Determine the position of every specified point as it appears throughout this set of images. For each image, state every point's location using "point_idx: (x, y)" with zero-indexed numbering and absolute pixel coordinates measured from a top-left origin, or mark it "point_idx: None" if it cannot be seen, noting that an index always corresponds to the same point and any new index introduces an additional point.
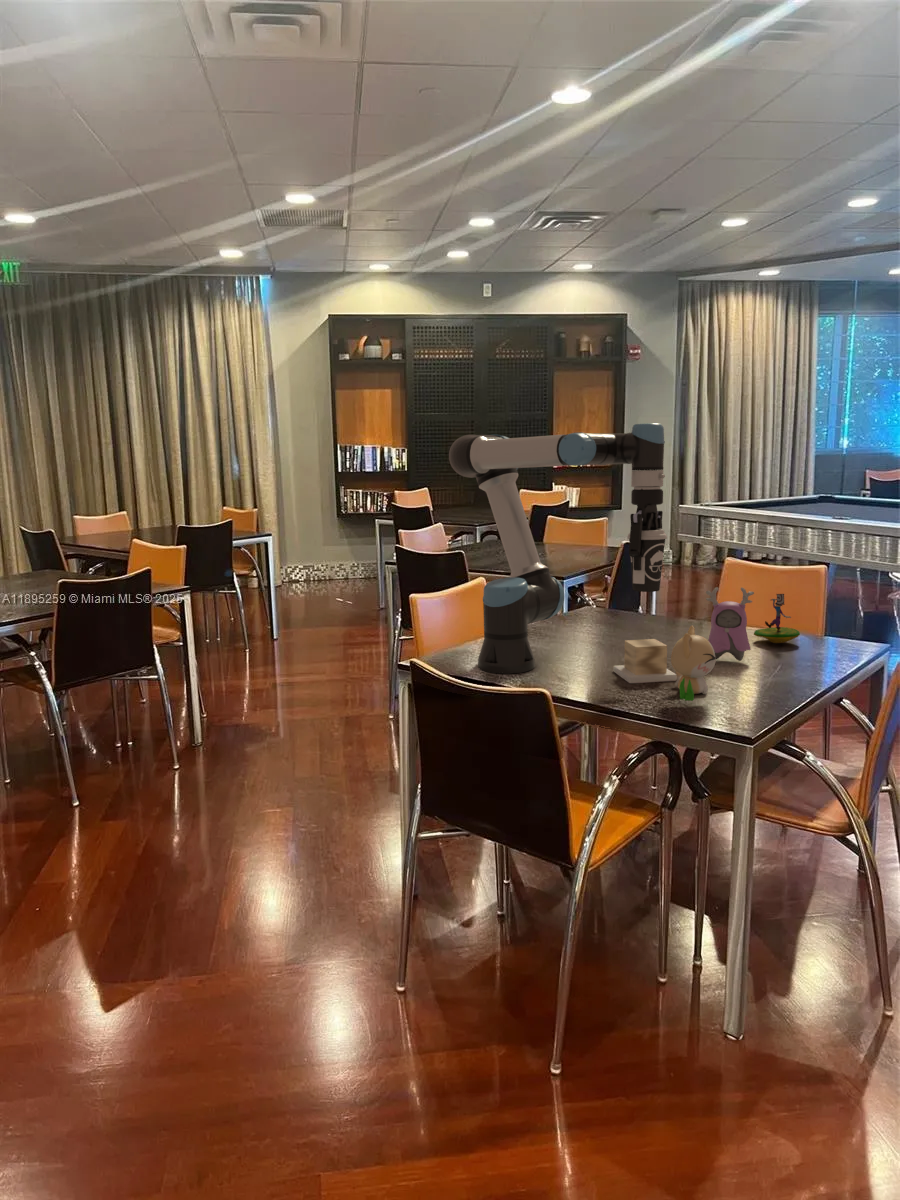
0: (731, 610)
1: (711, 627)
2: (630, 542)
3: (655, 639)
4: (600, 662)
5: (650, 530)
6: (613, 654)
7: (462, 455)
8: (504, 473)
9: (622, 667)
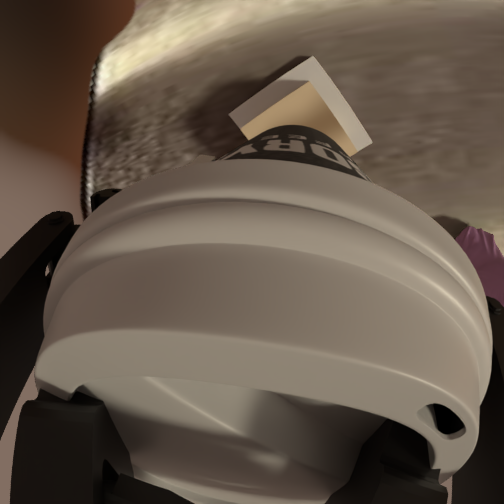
0: None
1: (489, 260)
2: (3, 267)
3: (350, 154)
4: (381, 16)
5: (274, 482)
6: (459, 36)
7: None
8: None
9: (304, 77)
